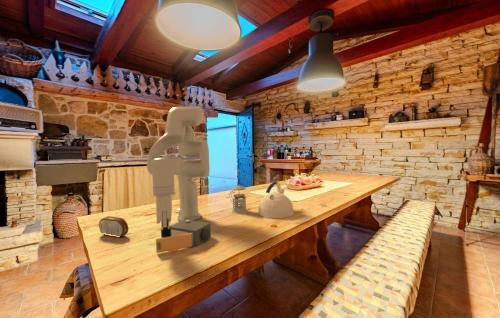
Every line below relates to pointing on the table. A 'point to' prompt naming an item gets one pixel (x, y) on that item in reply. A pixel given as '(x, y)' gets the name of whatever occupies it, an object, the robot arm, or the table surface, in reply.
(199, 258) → the table surface
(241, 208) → the french press
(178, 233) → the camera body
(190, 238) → the side door
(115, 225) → the tin
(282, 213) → the kettle
